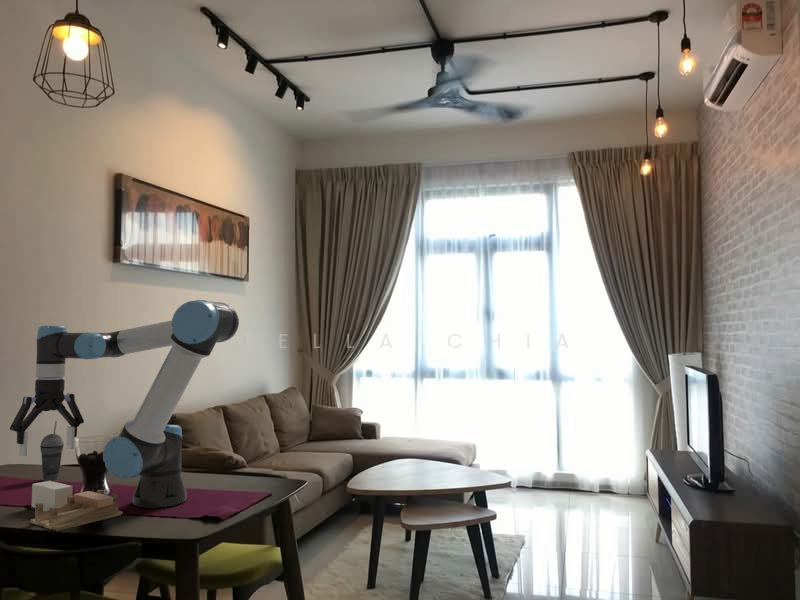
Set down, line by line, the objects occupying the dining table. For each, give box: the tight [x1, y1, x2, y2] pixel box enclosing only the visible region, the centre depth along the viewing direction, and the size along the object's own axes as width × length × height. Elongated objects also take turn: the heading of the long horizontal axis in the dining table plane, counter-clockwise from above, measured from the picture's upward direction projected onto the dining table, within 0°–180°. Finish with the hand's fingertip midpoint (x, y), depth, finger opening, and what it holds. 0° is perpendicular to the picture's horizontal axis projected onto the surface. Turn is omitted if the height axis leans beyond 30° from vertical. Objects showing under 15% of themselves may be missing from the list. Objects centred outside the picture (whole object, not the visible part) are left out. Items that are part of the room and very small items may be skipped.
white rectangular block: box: [31, 481, 73, 510], centre depth 184 cm, size 12×5×7 cm, turn 57°
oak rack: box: [30, 489, 124, 532], centre depth 175 cm, size 13×18×5 cm
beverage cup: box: [39, 420, 65, 482], centre depth 222 cm, size 7×7×20 cm
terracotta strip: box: [72, 490, 113, 508], centre depth 179 cm, size 12×4×2 cm, turn 57°
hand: (47, 452), depth 187 cm, fingers open, 13 cm apart
